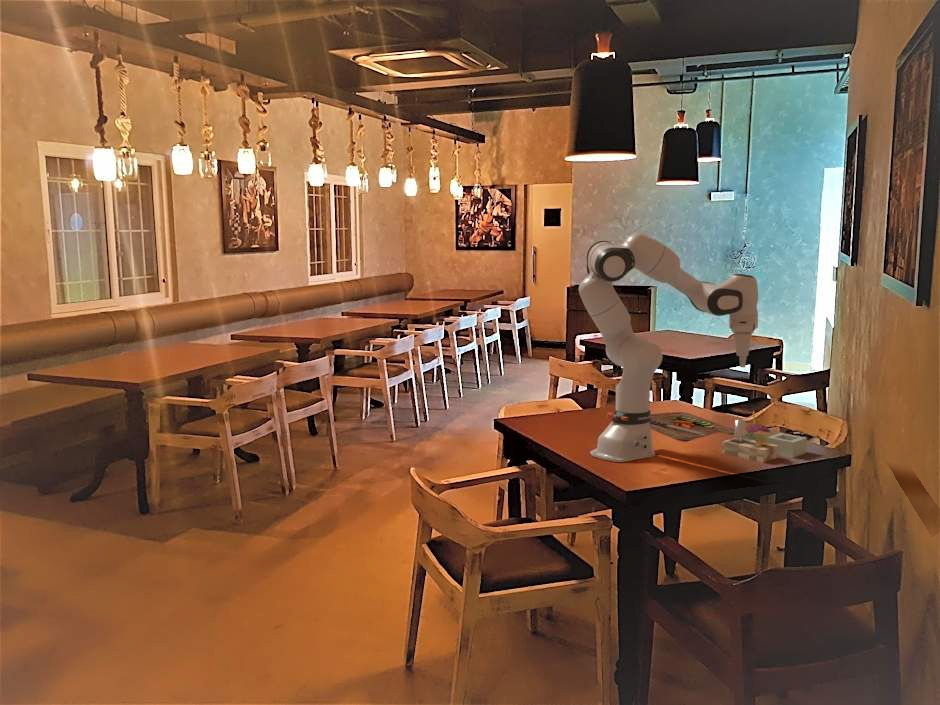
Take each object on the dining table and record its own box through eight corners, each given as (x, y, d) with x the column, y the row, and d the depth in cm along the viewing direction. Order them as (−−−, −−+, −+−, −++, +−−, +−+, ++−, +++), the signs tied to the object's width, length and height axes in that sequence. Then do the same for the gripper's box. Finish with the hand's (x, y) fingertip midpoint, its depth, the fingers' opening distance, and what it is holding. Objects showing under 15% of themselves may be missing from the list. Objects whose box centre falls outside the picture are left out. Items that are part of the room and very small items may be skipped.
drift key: (762, 453, 234) (763, 434, 234) (752, 450, 237) (752, 432, 236) (769, 450, 237) (769, 432, 236) (758, 448, 240) (759, 430, 239)
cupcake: (737, 442, 260) (738, 408, 259) (757, 440, 263) (758, 406, 261) (754, 448, 252) (755, 413, 251) (774, 445, 255) (776, 411, 253)
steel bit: (740, 454, 241) (741, 421, 239) (731, 452, 243) (733, 420, 242) (746, 453, 243) (747, 420, 241) (737, 451, 245) (738, 418, 244)
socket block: (762, 465, 232) (763, 450, 231) (721, 456, 243) (722, 441, 242) (777, 460, 238) (778, 445, 237) (736, 451, 249) (737, 436, 248)
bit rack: (792, 460, 237) (793, 442, 236) (765, 455, 244) (766, 437, 243) (806, 455, 243) (807, 437, 242) (779, 450, 249) (780, 432, 249)
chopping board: (751, 438, 267) (751, 430, 267) (687, 445, 259) (687, 437, 259) (680, 413, 310) (680, 406, 309) (623, 418, 302) (623, 411, 301)
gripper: (734, 317, 255) (734, 356, 258) (731, 328, 236) (731, 370, 239) (754, 317, 253) (754, 356, 255) (753, 328, 234) (752, 370, 237)
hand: (743, 363), depth 247 cm, fingers open, 8 cm apart
